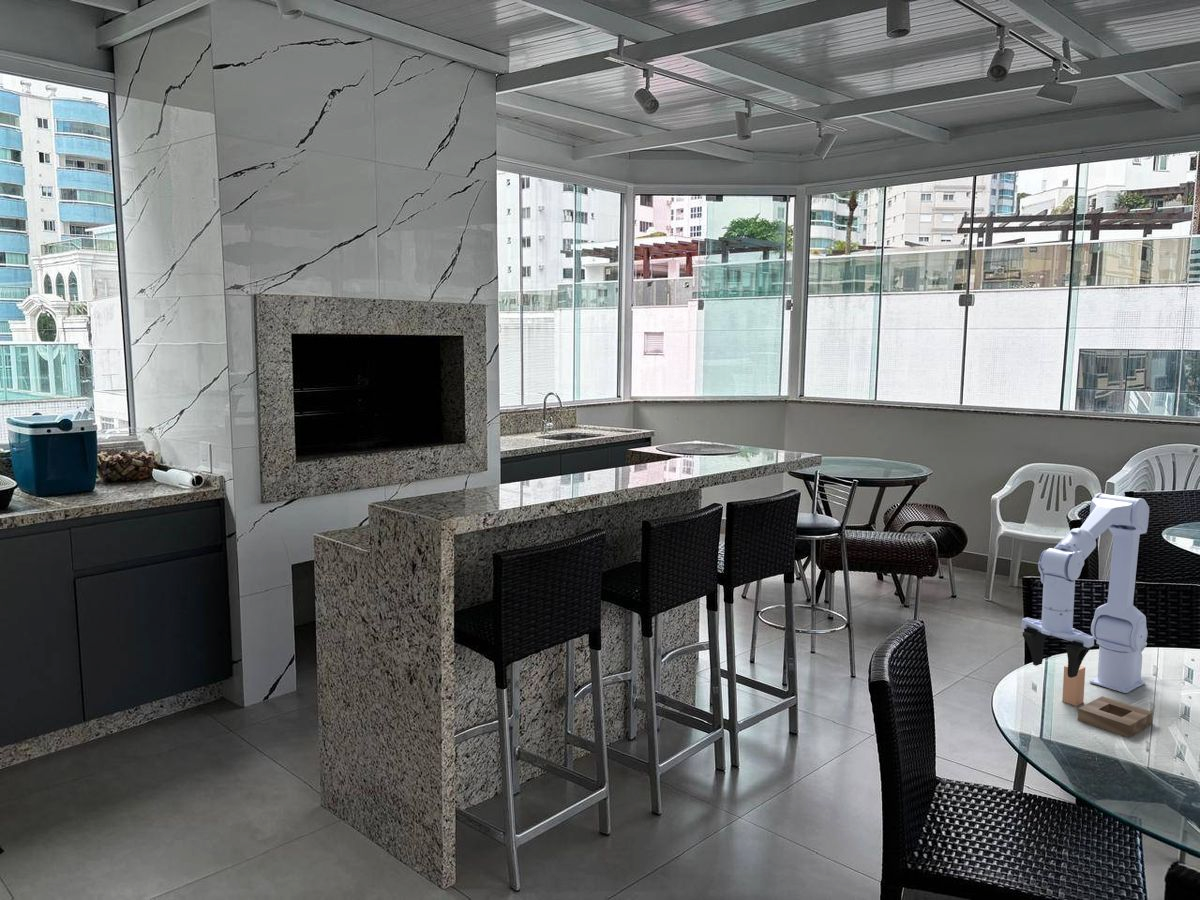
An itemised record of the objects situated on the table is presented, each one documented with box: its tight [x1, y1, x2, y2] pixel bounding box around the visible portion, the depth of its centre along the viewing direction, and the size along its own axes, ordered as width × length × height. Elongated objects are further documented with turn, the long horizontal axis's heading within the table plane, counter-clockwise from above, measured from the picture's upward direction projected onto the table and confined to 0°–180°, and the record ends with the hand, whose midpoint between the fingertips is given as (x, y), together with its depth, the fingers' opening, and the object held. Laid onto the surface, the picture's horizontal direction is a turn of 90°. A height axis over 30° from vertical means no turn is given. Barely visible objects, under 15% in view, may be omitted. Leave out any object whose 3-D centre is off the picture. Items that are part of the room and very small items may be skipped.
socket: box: [1077, 695, 1154, 738], centre depth 180 cm, size 10×10×2 cm
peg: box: [1061, 664, 1086, 707], centre depth 189 cm, size 3×3×8 cm
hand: (1054, 670), depth 182 cm, fingers open, 7 cm apart
